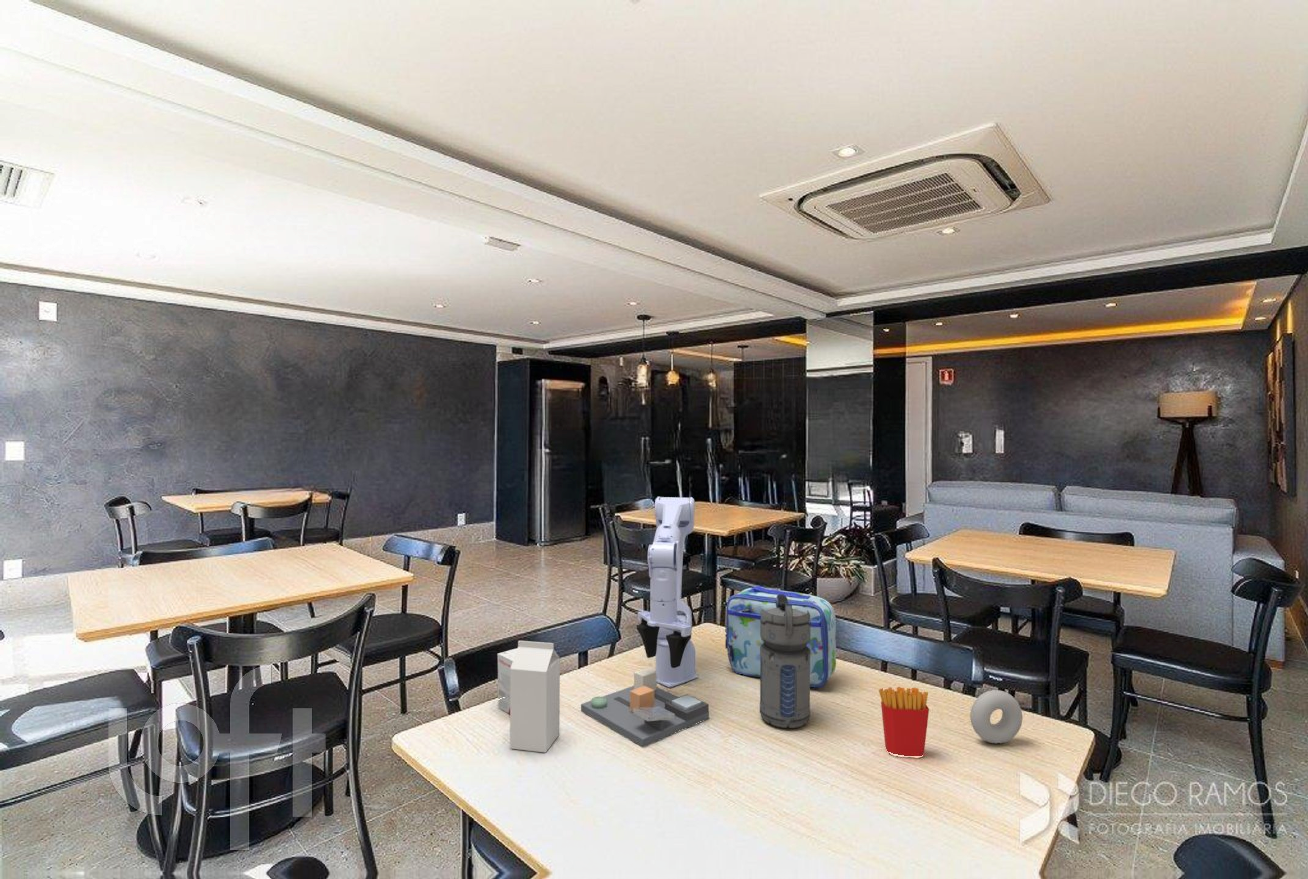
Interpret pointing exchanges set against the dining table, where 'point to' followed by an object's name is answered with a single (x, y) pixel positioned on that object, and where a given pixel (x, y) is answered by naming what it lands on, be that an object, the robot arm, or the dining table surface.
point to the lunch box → (747, 641)
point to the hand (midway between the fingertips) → (663, 661)
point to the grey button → (686, 702)
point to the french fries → (904, 720)
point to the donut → (1009, 719)
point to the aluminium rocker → (653, 713)
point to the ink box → (504, 678)
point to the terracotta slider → (641, 698)
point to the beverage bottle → (785, 665)
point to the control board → (642, 732)
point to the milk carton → (534, 696)
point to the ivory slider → (645, 679)
